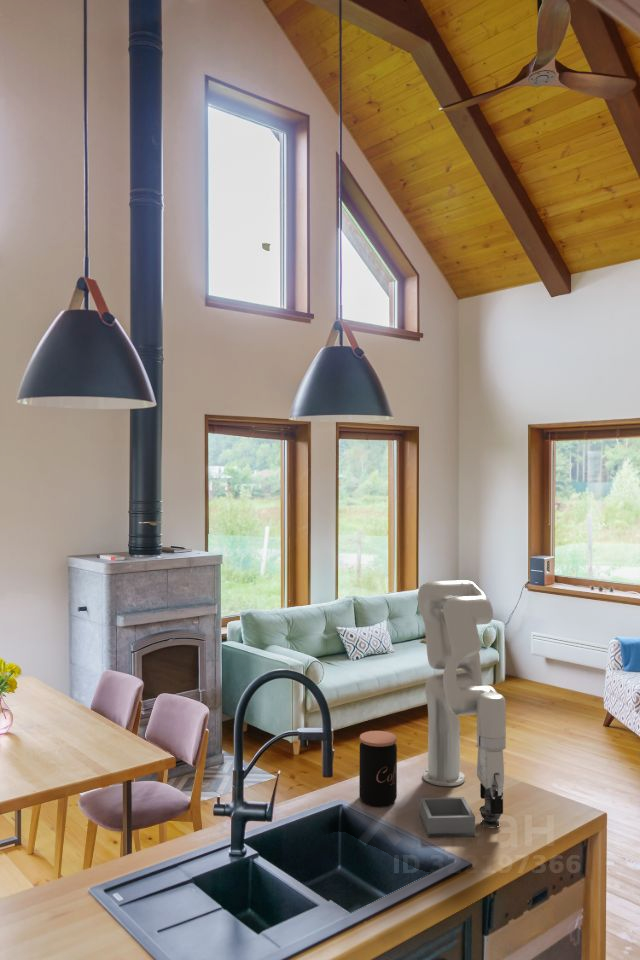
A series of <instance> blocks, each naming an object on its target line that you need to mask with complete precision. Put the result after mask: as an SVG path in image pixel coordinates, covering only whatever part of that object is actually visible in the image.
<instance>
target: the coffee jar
mask: <svg viewBox="0 0 640 960" xmlns="http://www.w3.org/2000/svg"><path fill="white" fill-rule="evenodd" d="M359 741H360V743H359V775H358V776H359V780H358V781H359V783H358V784H359V787H358V788H359V791H358V793H359V794H358V795H359V798H360V799H361V802H362V803H363V804H365V805H367V806H369V807H374V806H375V808H384V807H389V806H392V804H394V802H395V801H396V800H397V799H398V798H397V796H398V795H397V793H398V790H397V788H398V786H397V785H398V784H397V783H398V772H397V771H398V770H397V769H398V746H397V744H396V743H397V741H398V738H397V735H396V734H394V733H392V732H390V731H385V730H384V731H383V730H369V731H365V732H362V733H360V735H359Z"/></svg>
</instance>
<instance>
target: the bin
mask: <svg viewBox="0 0 640 960" xmlns="http://www.w3.org/2000/svg"><path fill="white" fill-rule="evenodd" d="M419 818H420V820H421V823H422V825H423V827H425V828H424V830H425V831H426V832H425V833H426V835H427V837H428V838H432V839H433V838H467V837H470V838H471V837H476V816H475V814H474V812H473V811H472V809H471V807H470V805H469V803H468V802H467V800H466V799H465V797H464V796H462V797H461V796H459V797H457V796H456V797H455V796H454V797H420V798H419Z"/></svg>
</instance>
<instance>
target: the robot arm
mask: <svg viewBox="0 0 640 960" xmlns="http://www.w3.org/2000/svg"><path fill="white" fill-rule="evenodd" d="M417 605H418V609H419V612H420V614H421V617H422V620H423V623H424V632H425V642H426V643H425V645H426V653H427V654H426V655H427V662H428V664H429V666H430V668H432V669H434V670H441V671H442V670H443V673H442V674H436V675H433V676H430V677H429V678H428V679H427V680H426V681H425V684H424V685H425V689H424V690H425V696H426V697H425V698H426V703H427V715H428V716H427V717H428V720H427V723H428V725H427V726H428V727H427V729H428V732H427V733H428V735H427V737H428V738H427V739H428V740H427V743H428V744H427V745H428V746H427V751H428V752H427V755H428V757H427V759H428V761H427V763H428V764H427V769H425V770H424V771H423V773H422V778H423V780H424V781H425V782H427V783H428V784H431V785H435V786H439V787H455V786H460V785H462V784H463V783H464V782H465V781H466V779H465V778H466V775H465V774H464V773H463V772H462V771H461V770H460V769H461V765H460V764H461V763H460V762H461V721H460V718H459V716H460V717H461V716H472V715H473V716H474V715H476V747H477V748H478V749H477V763H476V776H477V779H478V780H479V782H480V783H479V784H480V786H479V787H480V788H479V789H480V791H479V793H480V799H484V800H485V797H484V794H485V788H486V789H488V788H490V791H491V796H492V798H490V812H491V814H501V815H502V814H504V791H503V790H504V786H505V785H504V784H505V766H504V765H505V764H504V762H505V761H504V750H506V749H507V741H506V740H507V724H506V723H507V721H506V720H507V714H506V713H507V709H506V707H507V705H506V698H505V697H504V695H502V694H501V693H498V691H497V690H496V689H495V688H494V686H491V685H487V684H486V685H485V684H484V683H483V676H482V666H481V657H480V656H481V655H480V651H481V650H482V643H481V640H480V639H481V638H480V635H479V630H478V627H477V626H478V625H480V626H481V625H488V624H490V623H491V622H492V620H493V617H494V610H493V606H492V603H491V601H490V599H489V597H488V596H487V595H486V594H485V592H484V591H483V590H482V589H480V588H479V586H478V585H476V583H474V581H471V580H468V579H467V580H466V579H459V580H458V579H456V580H433V581H428V582H425V583H423V584H422V585H420V587H419V589H418V593H417ZM458 669H461V670H462V672H460V673H457V670H458ZM483 684H484V685H483ZM492 785H496V786H492ZM494 790H496V791H495V793H494Z"/></svg>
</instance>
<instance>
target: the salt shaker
mask: <svg viewBox="0 0 640 960" xmlns="http://www.w3.org/2000/svg"><path fill="white" fill-rule="evenodd" d="M492 786H496V785H492ZM495 791H497V790H494V793H495ZM484 797H485V799H484V805H482V806H480V807H479V809H478V810H479V812H480V816H481V818H483V819H481V820H482V822H481V821H480V822H481V823H480V825H481V824H482V825H481V826H483V825H484V826H486V827H485V828H487V827H497V826H499V822H500V821H499V820H500V818H501V815H502V814H491V812H490V798H492V796H491V791H490V788H488V789H486V788H485V794H484ZM484 826H483V827H484Z"/></svg>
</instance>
